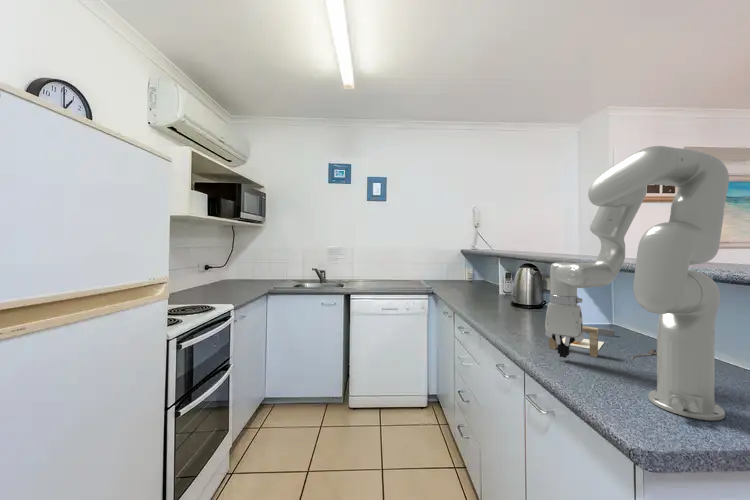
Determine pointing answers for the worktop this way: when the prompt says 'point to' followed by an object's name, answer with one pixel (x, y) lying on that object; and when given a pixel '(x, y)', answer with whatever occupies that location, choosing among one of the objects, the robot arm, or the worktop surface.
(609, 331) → the wall
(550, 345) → the bridge
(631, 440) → the worktop surface
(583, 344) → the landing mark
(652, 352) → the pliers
